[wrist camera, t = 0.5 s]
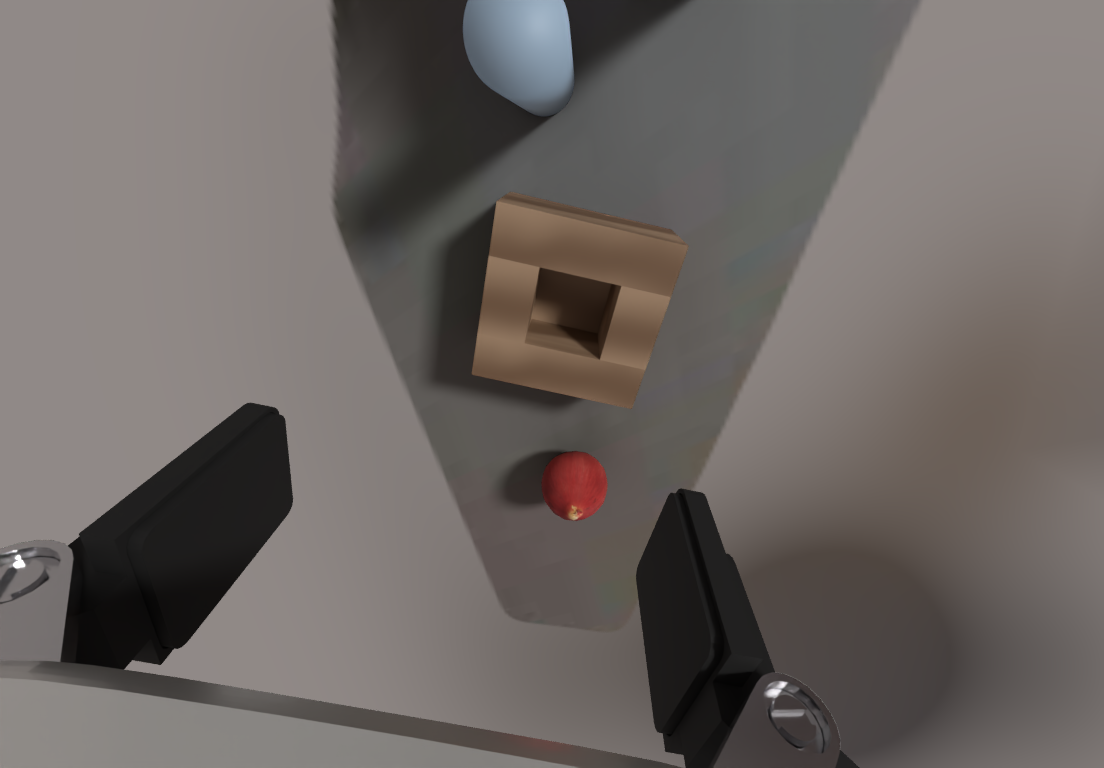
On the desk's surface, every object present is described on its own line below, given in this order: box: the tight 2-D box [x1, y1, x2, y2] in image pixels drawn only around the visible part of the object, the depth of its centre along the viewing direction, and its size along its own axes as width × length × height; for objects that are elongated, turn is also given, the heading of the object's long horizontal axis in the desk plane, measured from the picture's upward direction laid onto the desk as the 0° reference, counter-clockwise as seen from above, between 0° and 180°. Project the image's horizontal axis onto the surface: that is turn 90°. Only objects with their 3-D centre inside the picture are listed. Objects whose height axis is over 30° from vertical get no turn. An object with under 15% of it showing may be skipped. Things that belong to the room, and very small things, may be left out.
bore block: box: [472, 192, 689, 409], centre depth 33 cm, size 12×12×6 cm
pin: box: [463, 0, 575, 117], centre depth 23 cm, size 4×4×14 cm
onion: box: [542, 451, 607, 521], centre depth 40 cm, size 6×6×8 cm
